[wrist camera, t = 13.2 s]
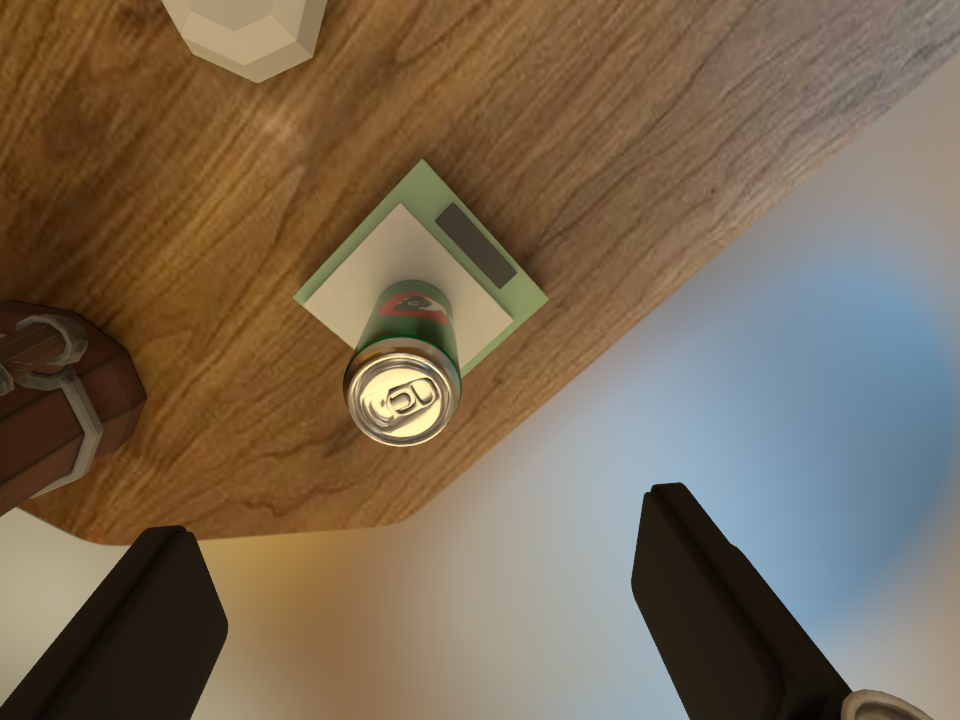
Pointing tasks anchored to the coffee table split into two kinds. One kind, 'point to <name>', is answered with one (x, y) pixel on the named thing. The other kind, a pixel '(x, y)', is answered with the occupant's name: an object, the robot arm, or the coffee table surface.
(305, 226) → the coffee table surface
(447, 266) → the scale
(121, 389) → the mug
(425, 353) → the soda can
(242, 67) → the white apple
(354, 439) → the coffee table surface
